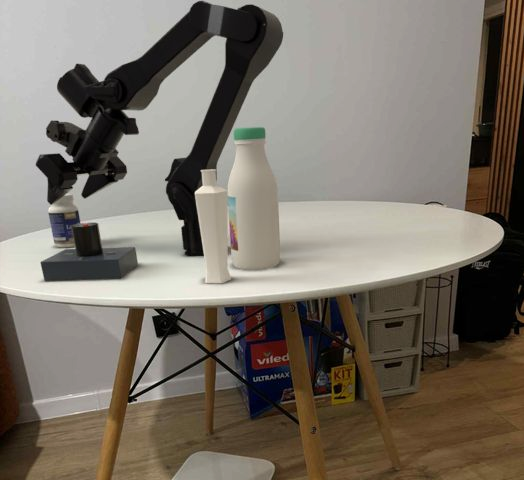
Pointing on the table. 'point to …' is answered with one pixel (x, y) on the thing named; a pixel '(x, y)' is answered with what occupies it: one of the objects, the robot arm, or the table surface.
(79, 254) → the clamp knob
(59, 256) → the block
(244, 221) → the milk bottle
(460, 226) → the table surface
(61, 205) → the pill bottle
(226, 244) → the perfume bottle
